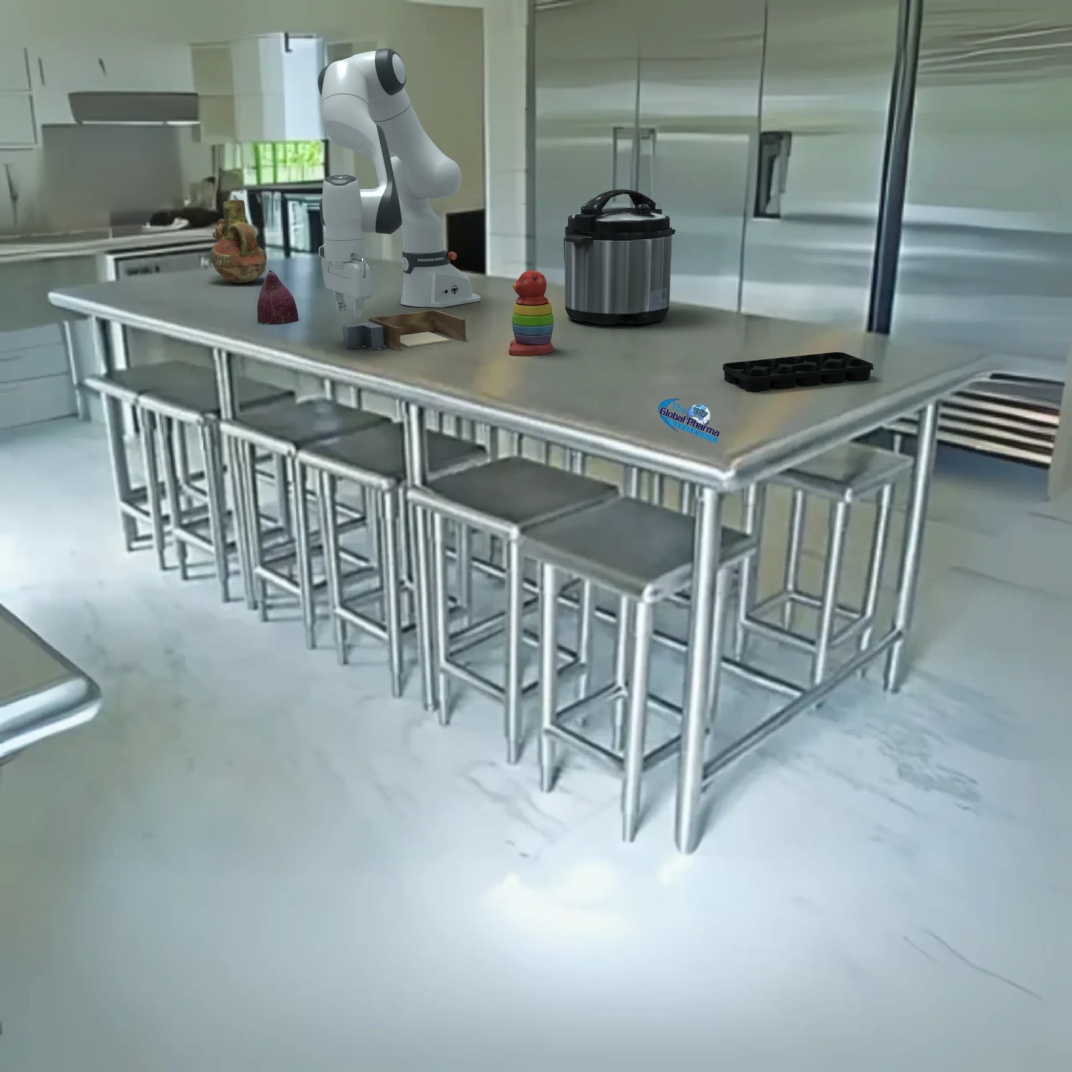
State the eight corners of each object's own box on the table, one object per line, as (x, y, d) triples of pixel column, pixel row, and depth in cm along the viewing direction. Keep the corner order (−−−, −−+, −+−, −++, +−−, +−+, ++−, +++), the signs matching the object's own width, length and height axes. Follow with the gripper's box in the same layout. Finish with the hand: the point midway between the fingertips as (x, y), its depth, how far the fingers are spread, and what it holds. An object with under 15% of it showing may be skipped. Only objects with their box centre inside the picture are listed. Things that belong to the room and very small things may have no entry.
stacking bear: (510, 345, 248) (508, 267, 241) (554, 345, 248) (553, 266, 241) (507, 356, 238) (506, 274, 231) (553, 355, 238) (553, 274, 231)
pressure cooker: (657, 305, 292) (661, 183, 280) (688, 326, 266) (694, 192, 254) (549, 310, 288) (548, 186, 276) (570, 331, 262) (570, 195, 250)
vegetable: (289, 337, 275) (284, 282, 266) (251, 330, 276) (245, 276, 267) (305, 319, 283) (301, 265, 274) (268, 312, 285) (263, 259, 275)
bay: (436, 329, 265) (435, 309, 263) (466, 340, 253) (465, 319, 251) (369, 338, 256) (368, 317, 254) (396, 350, 244) (395, 328, 243)
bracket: (371, 343, 252) (370, 321, 250) (384, 348, 246) (382, 326, 245) (344, 346, 249) (342, 325, 247) (356, 352, 243) (354, 330, 241)
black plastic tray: (882, 380, 216) (884, 362, 215) (770, 402, 202) (772, 382, 200) (819, 363, 230) (820, 346, 229) (710, 382, 216) (711, 364, 214)
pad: (428, 333, 261) (428, 331, 261) (449, 341, 253) (449, 339, 253) (387, 338, 256) (387, 337, 256) (407, 347, 247) (407, 345, 247)
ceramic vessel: (244, 274, 352) (235, 194, 342) (285, 283, 334) (277, 199, 325) (195, 280, 341) (185, 198, 332) (235, 290, 324) (225, 203, 314)
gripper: (377, 255, 233) (381, 319, 239) (341, 246, 250) (345, 306, 255) (350, 257, 230) (354, 322, 235) (315, 248, 246) (320, 308, 252)
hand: (349, 313), depth 245 cm, fingers open, 8 cm apart
